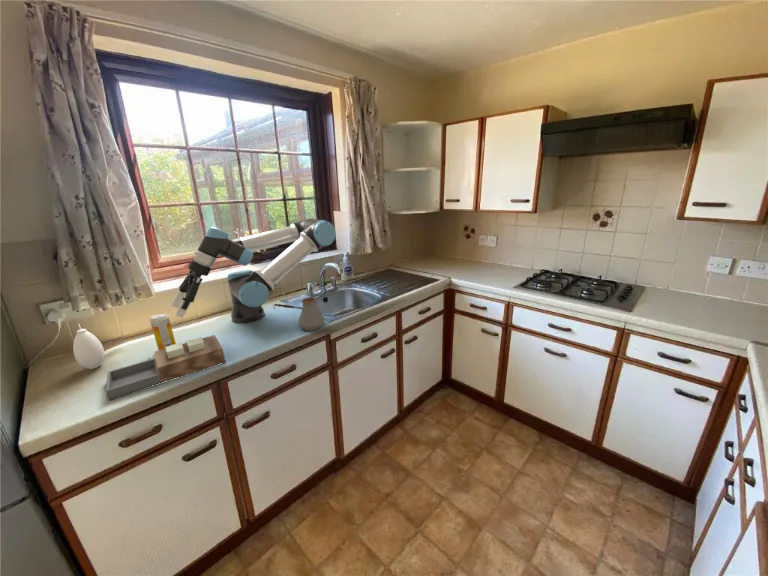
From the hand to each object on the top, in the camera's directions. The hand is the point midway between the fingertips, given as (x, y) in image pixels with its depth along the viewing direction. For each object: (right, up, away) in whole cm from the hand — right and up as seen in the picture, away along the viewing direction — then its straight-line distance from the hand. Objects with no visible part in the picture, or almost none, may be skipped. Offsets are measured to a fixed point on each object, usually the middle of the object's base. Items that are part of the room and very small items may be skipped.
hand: (176, 311), depth 130 cm
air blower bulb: (-25, -20, -9) cm, 33 cm away
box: (-2, -23, -19) cm, 30 cm away
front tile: (+8, -14, -14) cm, 21 cm away
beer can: (-4, -16, +2) cm, 17 cm away
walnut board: (+12, -19, -9) cm, 24 cm away
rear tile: (+13, -13, -10) cm, 21 cm away
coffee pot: (+46, -10, +15) cm, 49 cm away
